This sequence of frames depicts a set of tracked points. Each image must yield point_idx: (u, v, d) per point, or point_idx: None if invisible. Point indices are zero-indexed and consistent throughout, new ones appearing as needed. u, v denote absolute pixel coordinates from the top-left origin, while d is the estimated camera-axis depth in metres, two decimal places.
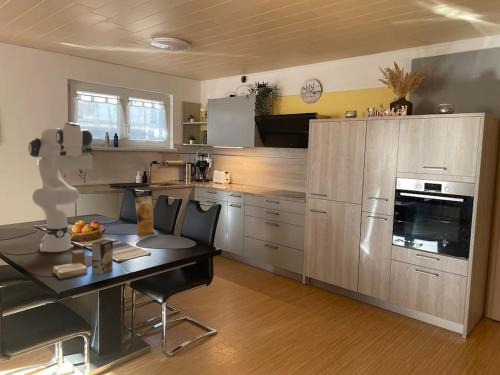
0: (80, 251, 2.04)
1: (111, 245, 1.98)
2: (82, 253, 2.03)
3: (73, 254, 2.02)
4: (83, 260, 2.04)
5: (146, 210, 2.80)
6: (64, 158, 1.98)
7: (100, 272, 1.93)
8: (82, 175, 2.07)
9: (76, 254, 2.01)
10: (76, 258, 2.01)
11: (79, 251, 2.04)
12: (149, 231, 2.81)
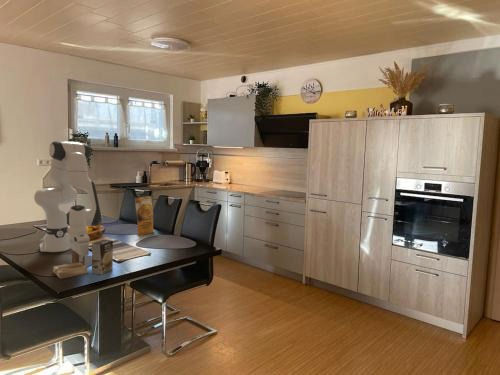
0: None
1: (111, 245, 1.98)
2: None
3: (73, 254, 2.02)
4: (83, 260, 2.04)
5: (146, 210, 2.80)
6: None
7: (100, 272, 1.93)
8: None
9: (76, 254, 2.01)
10: (76, 258, 2.01)
11: None
12: (149, 231, 2.81)
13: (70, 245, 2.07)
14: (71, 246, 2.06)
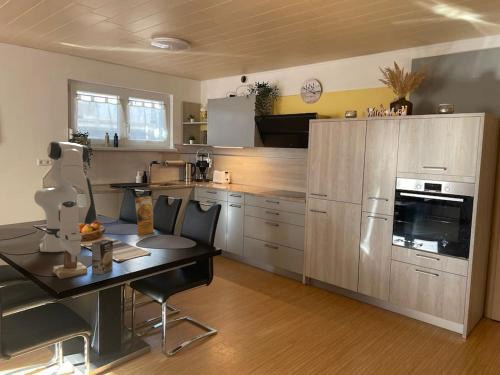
0: None
1: (111, 245, 1.98)
2: None
3: (65, 255, 1.91)
4: (75, 261, 1.92)
5: (146, 210, 2.80)
6: None
7: (100, 272, 1.93)
8: None
9: (68, 255, 1.89)
10: (67, 259, 1.89)
11: None
12: (149, 231, 2.81)
13: (61, 244, 1.96)
14: (62, 245, 1.94)
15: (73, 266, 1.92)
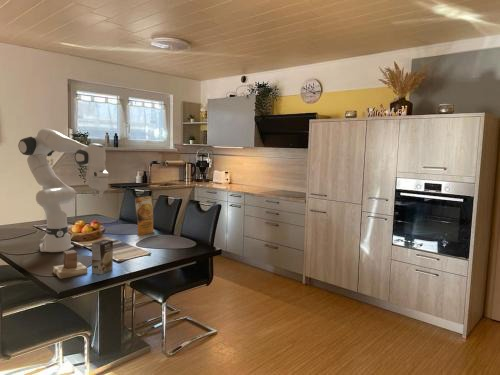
0: (72, 251, 1.92)
1: (111, 245, 1.98)
2: (74, 253, 1.91)
3: (65, 255, 1.91)
4: (75, 261, 1.92)
5: (146, 210, 2.80)
6: None
7: (100, 272, 1.93)
8: None
9: (68, 255, 1.89)
10: (67, 259, 1.89)
11: (71, 251, 1.92)
12: (149, 231, 2.81)
13: (89, 183, 2.14)
14: (90, 184, 2.13)
15: (73, 266, 1.92)
